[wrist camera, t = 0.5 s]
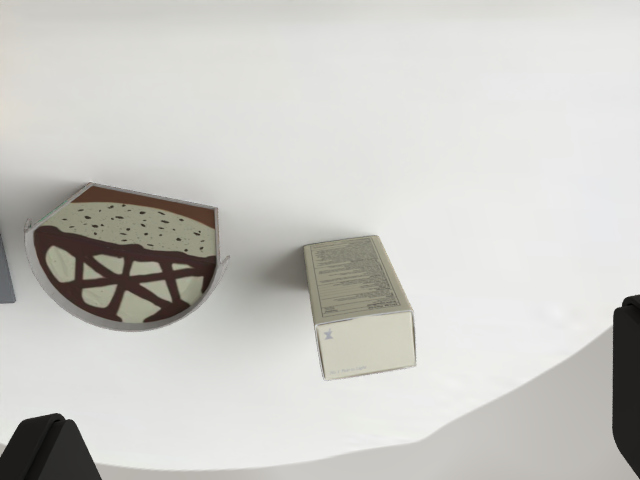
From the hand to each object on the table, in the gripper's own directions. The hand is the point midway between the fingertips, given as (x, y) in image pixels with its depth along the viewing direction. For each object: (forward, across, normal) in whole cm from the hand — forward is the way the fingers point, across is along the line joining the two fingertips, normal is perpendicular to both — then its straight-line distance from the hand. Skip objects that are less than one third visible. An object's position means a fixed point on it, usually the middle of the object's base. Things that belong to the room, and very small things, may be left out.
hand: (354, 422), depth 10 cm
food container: (+35, +13, +9) cm, 38 cm away
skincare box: (+35, -1, +14) cm, 38 cm away
